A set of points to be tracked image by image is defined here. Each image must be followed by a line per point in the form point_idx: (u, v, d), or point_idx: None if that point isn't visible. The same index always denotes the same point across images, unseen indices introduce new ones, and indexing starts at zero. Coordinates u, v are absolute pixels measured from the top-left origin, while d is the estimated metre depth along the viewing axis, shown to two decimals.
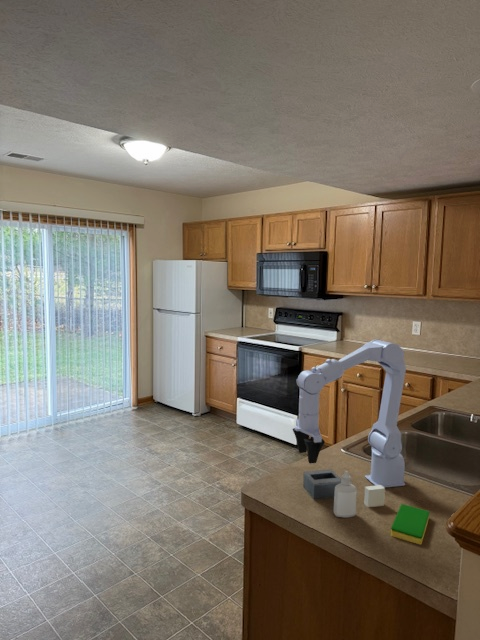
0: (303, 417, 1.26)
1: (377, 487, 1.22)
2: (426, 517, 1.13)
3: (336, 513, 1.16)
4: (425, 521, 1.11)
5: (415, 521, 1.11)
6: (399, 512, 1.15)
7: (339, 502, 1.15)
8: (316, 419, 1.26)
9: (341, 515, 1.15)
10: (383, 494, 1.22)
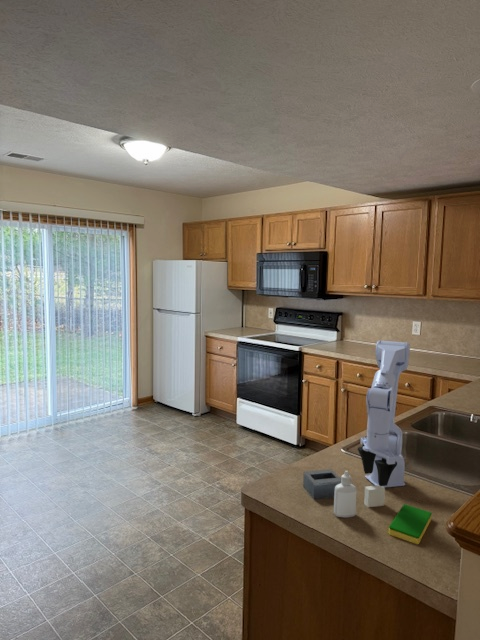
0: (373, 436, 1.19)
1: (377, 487, 1.22)
2: (427, 518, 1.12)
3: (336, 513, 1.16)
4: (425, 522, 1.11)
5: (415, 521, 1.11)
6: (400, 512, 1.15)
7: (339, 502, 1.15)
8: (387, 439, 1.19)
9: (341, 515, 1.15)
10: (383, 494, 1.22)
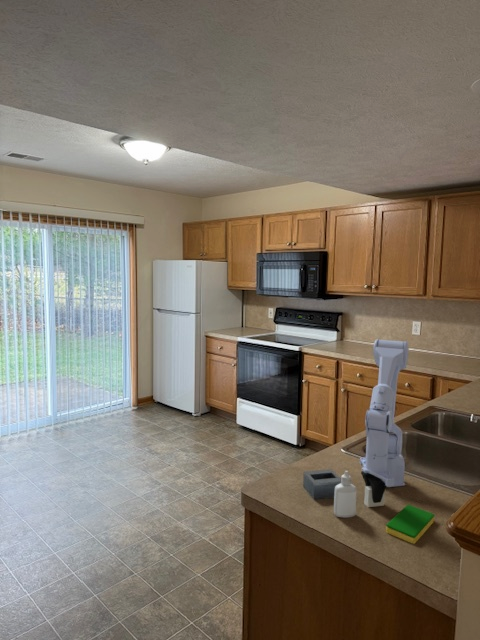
0: (372, 458, 1.19)
1: None
2: (428, 519, 1.12)
3: (336, 513, 1.16)
4: (425, 522, 1.10)
5: (414, 521, 1.11)
6: (401, 511, 1.15)
7: (339, 502, 1.15)
8: (386, 460, 1.19)
9: (341, 515, 1.15)
10: (383, 494, 1.22)
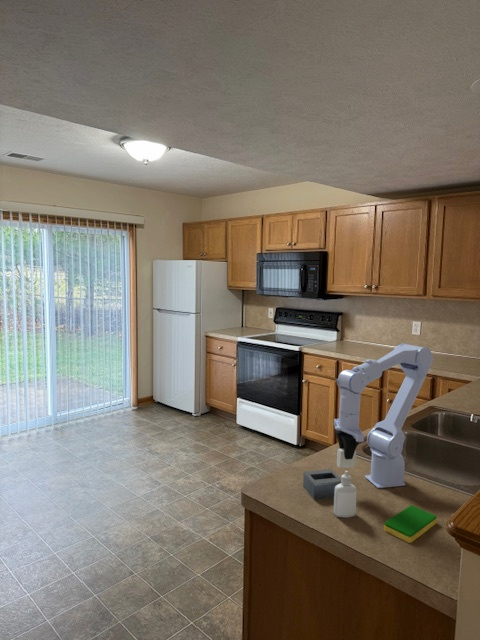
0: (344, 416, 1.26)
1: None
2: (429, 520, 1.11)
3: (336, 513, 1.16)
4: (425, 523, 1.10)
5: (414, 521, 1.11)
6: (403, 511, 1.15)
7: (339, 502, 1.15)
8: (357, 419, 1.26)
9: (341, 515, 1.15)
10: (354, 456, 1.29)
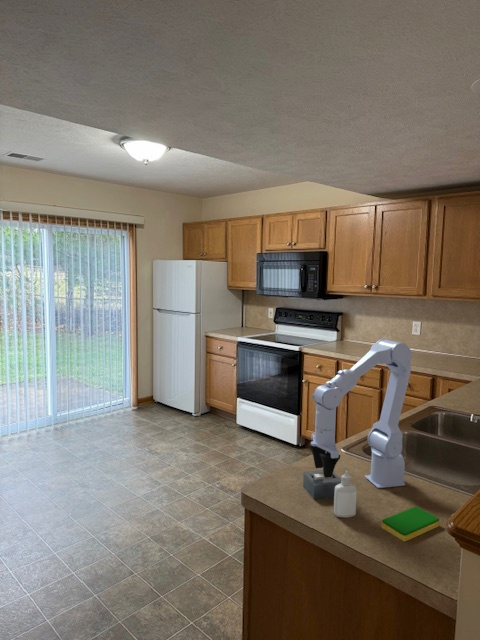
0: (320, 432, 1.26)
1: None
2: (429, 522, 1.11)
3: (336, 513, 1.16)
4: (424, 524, 1.10)
5: (413, 521, 1.11)
6: (405, 511, 1.15)
7: (339, 502, 1.15)
8: (333, 434, 1.26)
9: (341, 515, 1.15)
10: None
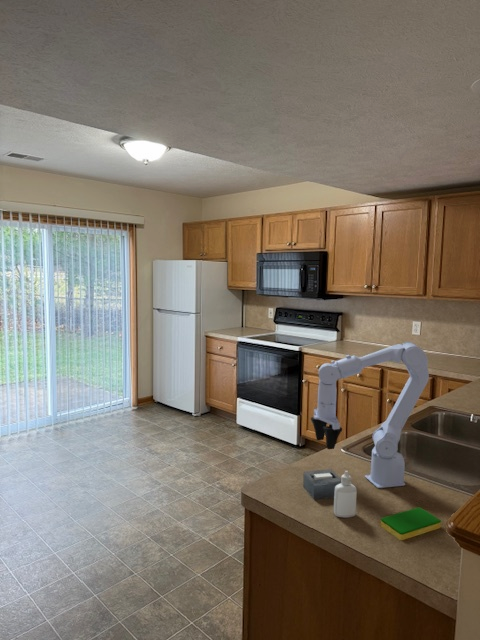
0: (322, 406, 1.35)
1: (325, 475, 1.29)
2: (430, 523, 1.10)
3: (336, 513, 1.16)
4: (424, 525, 1.09)
5: (412, 521, 1.11)
6: (406, 511, 1.15)
7: (339, 502, 1.15)
8: (334, 408, 1.36)
9: (341, 515, 1.15)
10: None
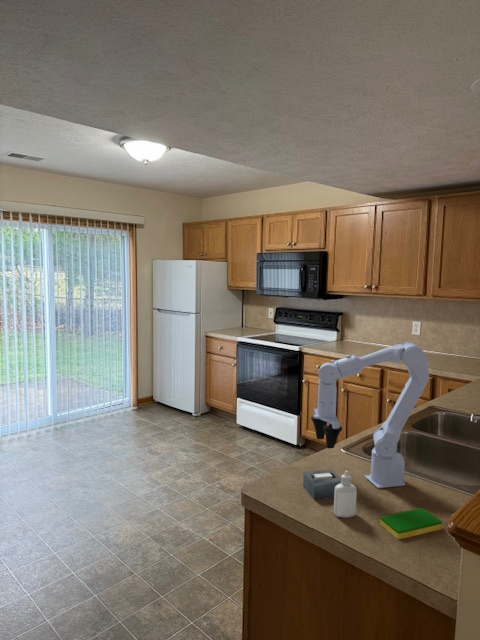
0: (322, 405, 1.36)
1: (325, 475, 1.29)
2: (430, 523, 1.10)
3: (336, 513, 1.16)
4: (423, 525, 1.09)
5: (412, 521, 1.11)
6: (407, 511, 1.15)
7: (339, 502, 1.15)
8: (334, 407, 1.36)
9: (341, 515, 1.15)
10: None
